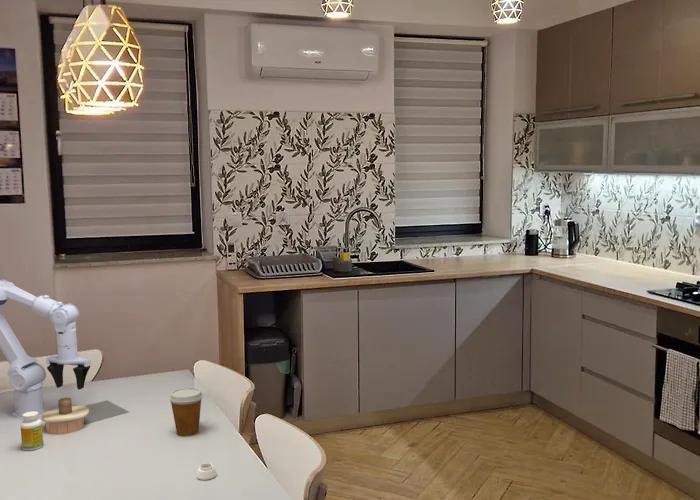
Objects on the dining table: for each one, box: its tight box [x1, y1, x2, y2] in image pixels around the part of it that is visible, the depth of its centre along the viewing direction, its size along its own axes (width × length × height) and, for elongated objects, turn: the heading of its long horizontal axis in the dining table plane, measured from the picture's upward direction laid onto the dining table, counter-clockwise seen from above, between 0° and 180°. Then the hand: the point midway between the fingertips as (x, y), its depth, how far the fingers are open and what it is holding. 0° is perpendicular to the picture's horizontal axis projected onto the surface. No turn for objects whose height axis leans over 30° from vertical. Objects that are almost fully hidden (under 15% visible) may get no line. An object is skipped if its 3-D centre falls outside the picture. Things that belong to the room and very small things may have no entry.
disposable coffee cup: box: [168, 387, 204, 437], centre depth 207 cm, size 10×10×12 cm
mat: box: [84, 399, 130, 425], centre depth 225 cm, size 16×14×1 cm
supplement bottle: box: [20, 411, 44, 451], centre depth 198 cm, size 5×5×10 cm
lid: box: [41, 397, 89, 423], centre depth 212 cm, size 13×13×5 cm
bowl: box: [45, 418, 85, 435], centre depth 212 cm, size 10×10×4 cm
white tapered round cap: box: [195, 462, 218, 481], centre depth 179 cm, size 5×3×5 cm
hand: (70, 387), depth 219 cm, fingers open, 7 cm apart
